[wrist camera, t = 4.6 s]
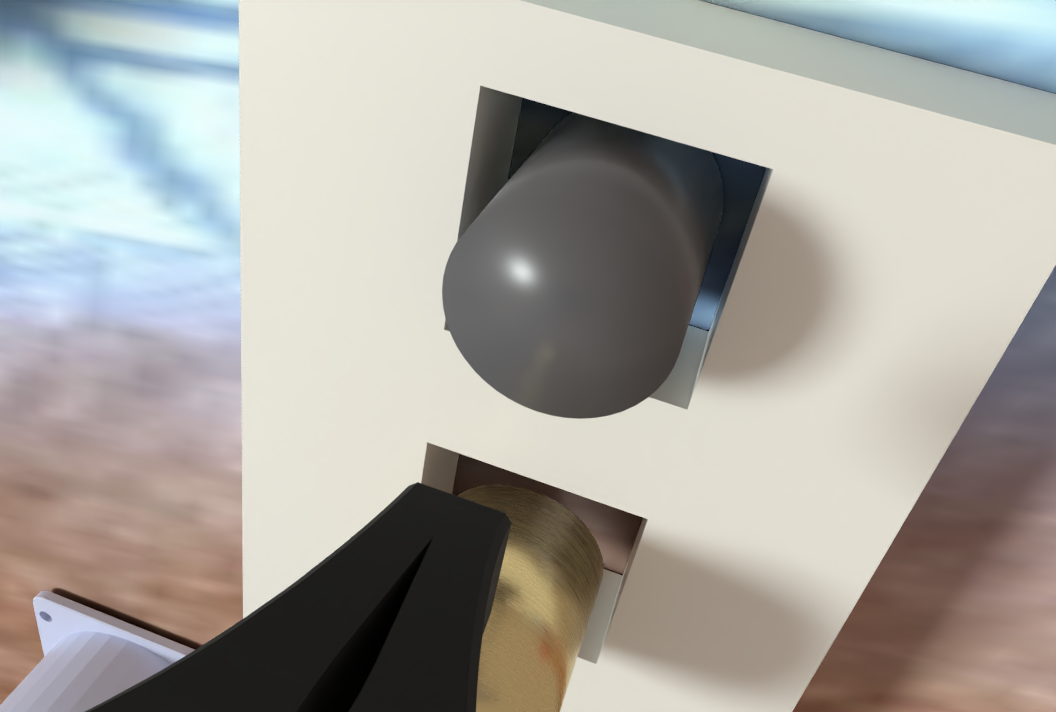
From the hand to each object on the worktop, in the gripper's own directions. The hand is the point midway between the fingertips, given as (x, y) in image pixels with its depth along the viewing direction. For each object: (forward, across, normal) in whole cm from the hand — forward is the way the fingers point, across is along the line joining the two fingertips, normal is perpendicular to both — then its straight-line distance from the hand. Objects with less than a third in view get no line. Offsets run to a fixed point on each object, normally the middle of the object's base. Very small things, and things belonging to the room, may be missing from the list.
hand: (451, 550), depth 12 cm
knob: (+9, 0, -1) cm, 9 cm away
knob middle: (+6, 0, +7) cm, 9 cm away
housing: (+9, 0, +7) cm, 11 cm away
